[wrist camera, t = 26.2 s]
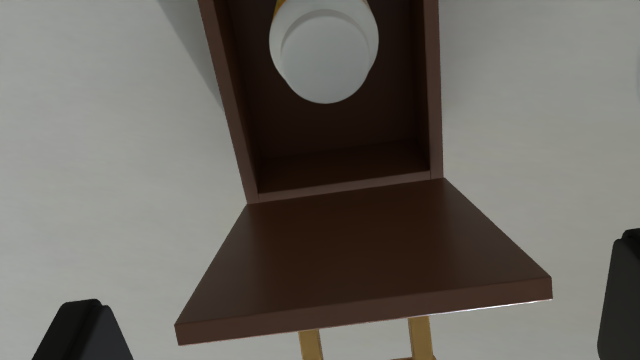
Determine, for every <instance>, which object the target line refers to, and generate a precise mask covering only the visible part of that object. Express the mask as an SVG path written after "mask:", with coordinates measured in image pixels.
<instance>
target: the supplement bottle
mask: <svg viewBox="0 0 640 360" xmlns="http://www.w3.org/2000/svg"><path fill="white" fill-rule="evenodd" d="M378 43H379V37H378V29H377V25H376V22H375V19H374V16H373V14H372V12H371V9H370V7H369V5H368V2H367V0H277V2H276V6H275V11H274V15H273V20H272V24H271V29H270V35H269V46H270V53H271V57H272V60H273V62H274V65H275V67H276V68H277V70H278V72H279V73H280V74H281V76H282V77H283V78H284V79H285V80H286V82H287V83H288V85H289V86H290V87H291V88H292V90H293V91H294V92H296V93H297V94H298V95H299V96H301V97H302V98H304V99H306V100H309V101H312V102H315V103H324V104H328V103H335V102H339V101H341V100H344V99H346V98H348V97H349V96H351V95H352V94H354V93H355V92H356V91H357V90H358V89H359V88H360V87H361V85H362V84H363V82H364V81H365V79H366V77H367V74H368V72H369V70H370V69H371V67H372V65H373V63H374V61H375V58H376V55H377V51H378Z"/></svg>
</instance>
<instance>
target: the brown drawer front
mask: <svg viewBox="0 0 640 360" xmlns="http://www.w3.org/2000/svg"><path fill="white" fill-rule="evenodd" d="M552 299H553V294H552V278H551V276H550V275H549V274H548V273H547V272H545V271H544V270H543V269H542V268H541V267H540V266H539V265H538V264H537V263H536V262H535V261H534V260H533V259H532V258H530V257H529V256H528V255H527V254H526V253H525V252H524V251H523V250H522V249H521V248H520V247H519V246H518V245H516V244H515V243H514V242H513V241H512V240H511V239H510V238H509V237H508V236H507V235H506V234H505V233H504V232H503V231H501V230H500V229H499V228H498V227H497V226H496V225H495V224H494V223H493V222H492V221H491V220H490V219H489V218H488V217H486V216H485V215H484V214H483V213H482V212H481V211H480V210H479V209H478V208H477V207H476V206H475V205H474V204H472V203H471V202H470V201H469V200H468V199H467V198H466V197H465V196H464V195H463V194H462V193H461V192H460V191H459V190H457V189H456V188H455V187H454V186H453V185H452V184H451V183H450V182H449V181H448V180H447V179H446V178H437V179H430V180H422V181H415V182H407V183H400V184H393V185H385V186H378V187H370V188H363V189H356V190H348V191H341V192H334V193H326V194H319V195H311V196H304V197H297V198H289V199H282V200H274V201H267V202H260V203H252V204H246V206H245V207H244V209H243V211H242V212H241V214H240V216H239V217H238V219H237V221H236V222H235V224H234V226H233V227H232V229H231V231H230V232H229V234H228V236H227V237H226V239H225V241H224V242H223V244H222V246H221V247H220V249H219V251H218V252H217V254H216V256H215V257H214V259H213V261H212V262H211V264H210V266H209V267H208V269H207V271H206V272H205V274H204V276H203V277H202V279H201V281H200V282H199V284H198V286H197V287H196V289H195V291H194V292H193V294H192V296H191V297H190V299H189V301H188V302H187V304H186V306H185V307H184V309H183V311H182V312H181V314H180V316H179V317H178V319H177V321H176V322H175V324H174V327H175V332H176V337H177V341H178V345H179V346H186V345H194V344H202V343H210V342H218V341H226V340H234V339H242V338H250V337H258V336H266V335H274V334H282V333H290V332H298V334H299V340H300V346H301V352H302V359H303V360H323V354H322V348H321V341H320V335H319V329H322V328H330V327H338V326H346V325H354V324H362V323H370V322H378V321H386V320H394V319H402V318H408V326H409V334H410V343H411V351H412V357H408V358H400V359H392V360H436V358H435V356H434V355H433V351H432V342H431V332H430V323H429V315H434V314H442V313H450V312H458V311H466V310H474V309H482V308H490V307H498V306H506V305H514V304H522V303H530V302H538V301H546V300H552Z"/></svg>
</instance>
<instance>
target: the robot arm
mask: <svg viewBox="0 0 640 360" xmlns="http://www.w3.org/2000/svg"><path fill="white" fill-rule="evenodd" d="M597 349H598V354H599V358H600V360H640V228H636V229H629V230H626V231H625V232H624V233H623V235H622V238H621V239H617V240H615V242H614V244H613V249H612V255H611V261H610V267H609V274H608V280H607V286H606V292H605V298H604V304H603V311H602V317H601V323H600V329H599V335H598V342H597ZM32 360H134V359H133V357H132V355H131V353H130V350H129V348H128V346H127V344H126V341H125V339H124V337H123V335H122V332H121V330H120V328H119V326H118V323H117V321H116V319H115V317H114V314H113V312H112V310H111V308H110V307H109V306H108V305H103V306H102V304H101V302H100V301H99V300H97V299H89V300H81V301H73V302H66V303H64V304H62V306H61V307H60V308H59V310H58V312H57V314H56V316H55V317H54V319H53V321H52V323H51V325H50V327H49V329H48V330H47V332H46V334H45V336H44V338H43V340H42V342H41V343H40V345H39V347H38V349H37V351H36V353H35V354H34V356H33V358H32Z"/></svg>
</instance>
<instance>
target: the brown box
mask: <svg viewBox="0 0 640 360" xmlns="http://www.w3.org/2000/svg"><path fill="white" fill-rule="evenodd" d="M276 2H277V0H198V4H199V8H200V12H201V16H202V20H203V24H204V29H205V33H206V37H207V41H208V45H209V49H210V53H211V57H212V61H213V65H214V70H215V74H216V78H217V82H218V86H219V90H220V94H221V98H222V102H223V106H224V110H225V115H226V119H227V123H228V127H229V131H230V135H231V139H232V143H233V147H234V151H235V155H236V160H237V164H238V168H239V172H240V176H241V180H242V184H243V188H244V192H245V196H246V200H247V204H252V203H260V202H267V201H274V200H282V199H289V198H297V197H304V196H311V195H319V194H326V193H334V192H341V191H348V190H356V189H363V188H370V187H378V186H385V185H393V184H400V183H407V182H415V181H422V180H430V179H437V178H443V144H442V110H441V76H440V42H439V8H438V0H367V2H368V5H369V7H370V9H371V12H372V14H373V16H374V19H375V22H376V25H377V29H378V37H379V43H378V51H377V55H376V58H375V61H374V63H373V65H372V67H371V69H370V70H369V72H368V74H367V77H366V79H365V81H364V82H363V84H362V85H361V87H360V88H359V89H358V90H357V91H356V92H355V93H354V94H352V95H351V96H349V97H348V98H346V99H344V100H341V101H339V102H335V103H328V104H324V103H315V102H312V101H309V100H306V99H304V98H302V97H301V96H299V95H298V94H297V93H296V92H294V91H293V90H292V88H291V87H290V86H289V85H288V83H287V82H286V80H285V79H284V78H283V77H282V76H281V74H280V73H279V72H278V70H277V68H276V67H275V65H274V62H273V60H272V57H271V53H270V46H269V35H270V29H271V24H272V20H273V15H274V11H275V6H276Z"/></svg>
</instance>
